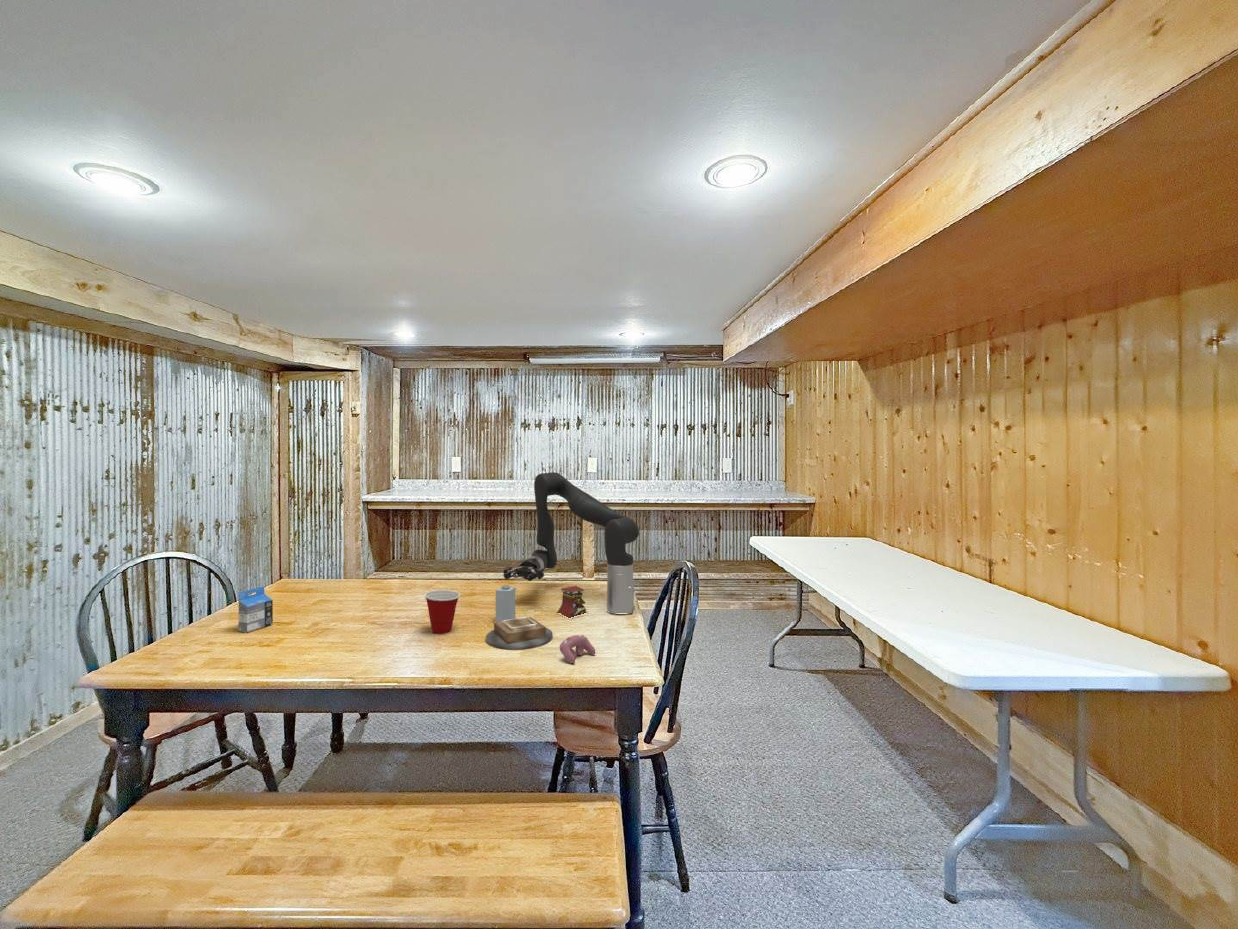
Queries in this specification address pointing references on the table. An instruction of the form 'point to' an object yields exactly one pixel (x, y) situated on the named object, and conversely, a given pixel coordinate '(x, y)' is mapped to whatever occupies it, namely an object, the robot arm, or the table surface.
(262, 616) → the ink cartridge box
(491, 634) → the tower base
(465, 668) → the table surface
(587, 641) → the purple curved piece
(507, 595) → the slate block
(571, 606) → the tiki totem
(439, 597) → the plastic cup
